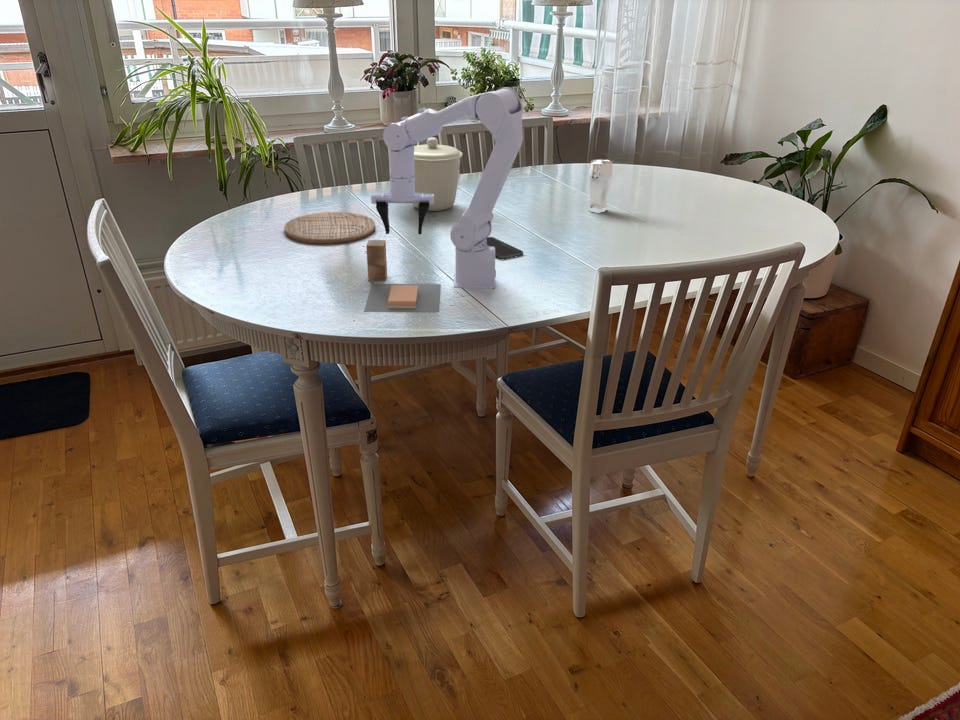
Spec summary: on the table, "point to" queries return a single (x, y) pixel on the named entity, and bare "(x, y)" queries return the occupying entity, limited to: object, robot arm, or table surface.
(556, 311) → the table surface
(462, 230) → the robot arm
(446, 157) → the canister
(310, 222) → the trivet
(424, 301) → the rubber mat
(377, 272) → the wooden block
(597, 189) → the beer glass
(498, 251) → the phone
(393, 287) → the flat slab
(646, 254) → the table surface
